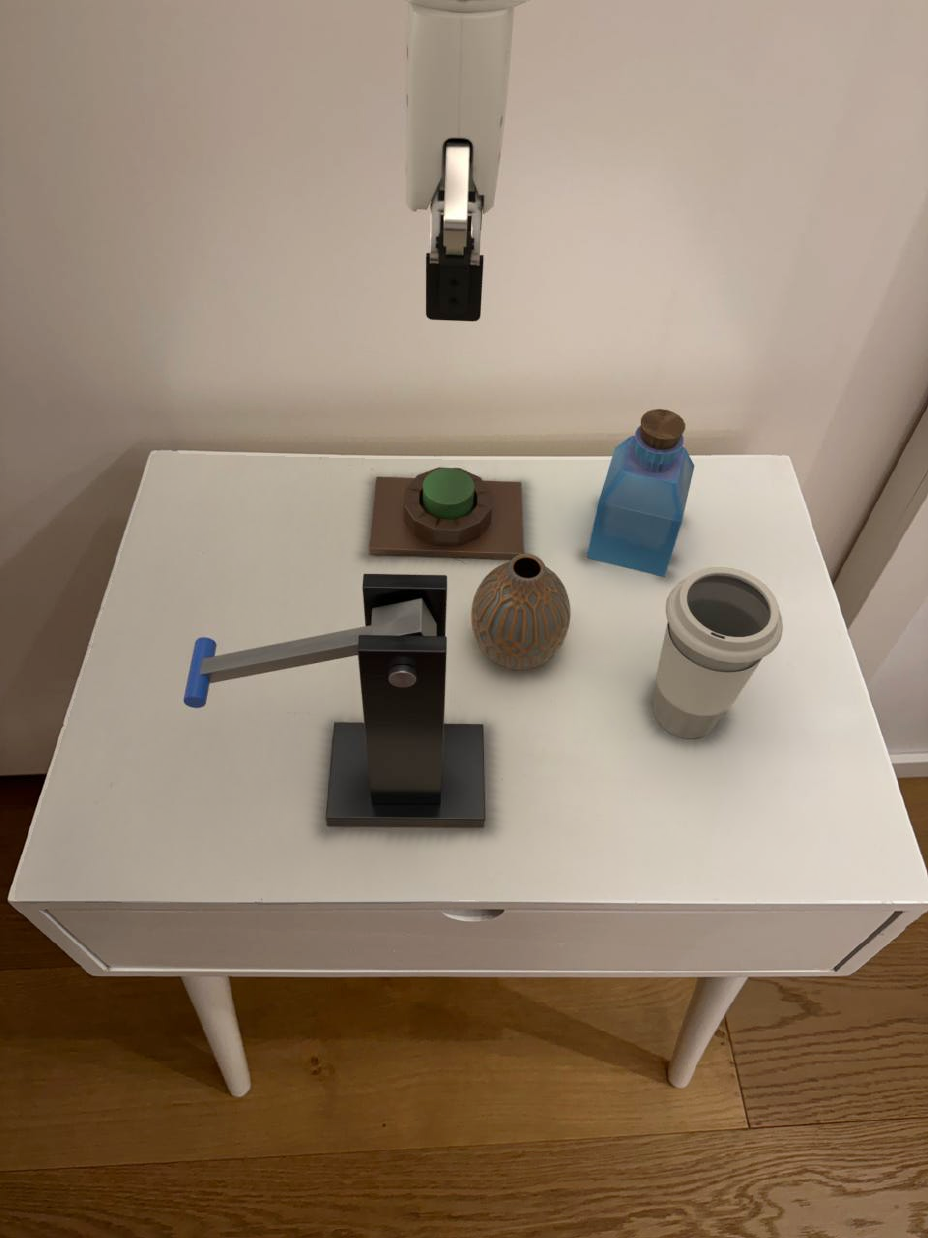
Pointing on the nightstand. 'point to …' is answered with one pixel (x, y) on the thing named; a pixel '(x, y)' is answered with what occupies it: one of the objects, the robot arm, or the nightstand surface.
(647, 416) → the perfume bottle
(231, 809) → the nightstand surface
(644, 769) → the nightstand surface
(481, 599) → the vase
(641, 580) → the nightstand surface
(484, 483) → the button block
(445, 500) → the light button
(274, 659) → the light lever
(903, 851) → the nightstand surface
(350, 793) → the switch bracket
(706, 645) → the cup
